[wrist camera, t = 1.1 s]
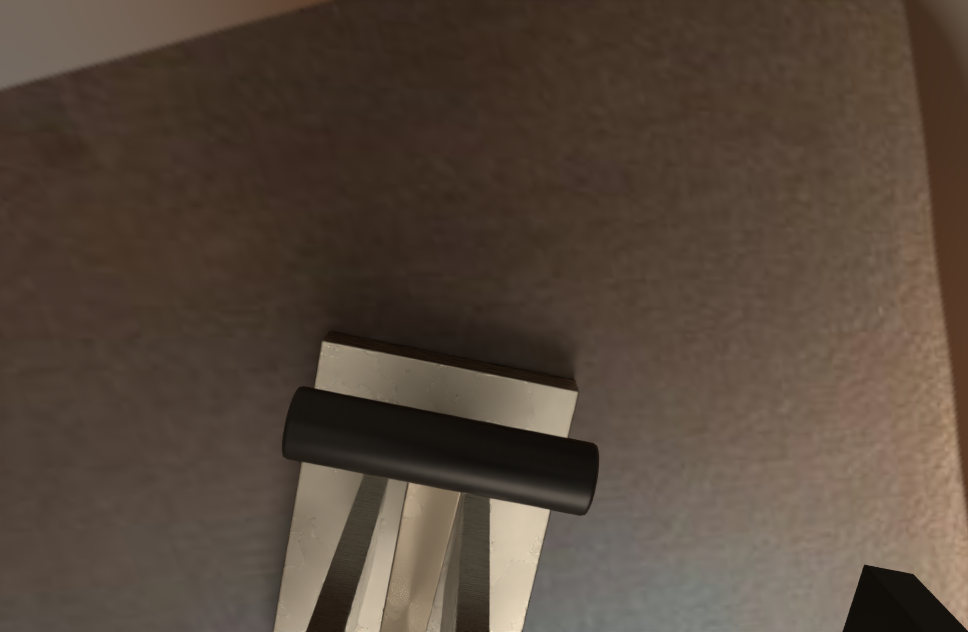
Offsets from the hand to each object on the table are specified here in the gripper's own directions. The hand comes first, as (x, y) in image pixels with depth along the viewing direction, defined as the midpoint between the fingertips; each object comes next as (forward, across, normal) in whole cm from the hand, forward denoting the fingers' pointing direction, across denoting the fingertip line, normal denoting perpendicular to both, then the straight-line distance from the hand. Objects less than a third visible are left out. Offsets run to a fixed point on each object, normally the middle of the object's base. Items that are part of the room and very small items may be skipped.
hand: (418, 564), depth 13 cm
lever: (+8, 0, -4) cm, 9 cm away
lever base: (+22, 0, -10) cm, 24 cm away
